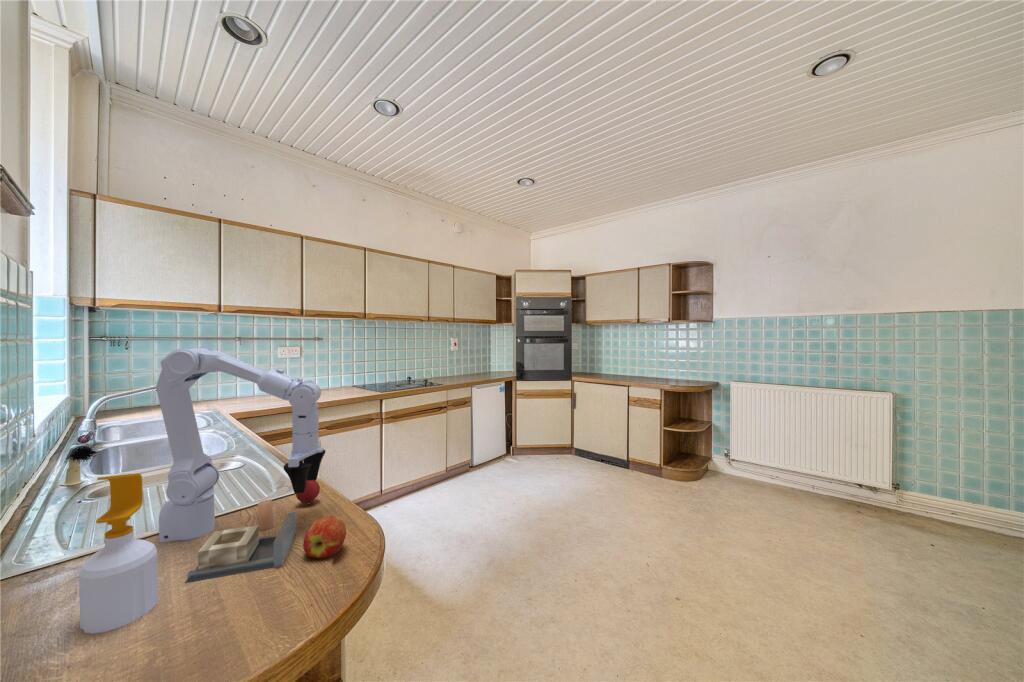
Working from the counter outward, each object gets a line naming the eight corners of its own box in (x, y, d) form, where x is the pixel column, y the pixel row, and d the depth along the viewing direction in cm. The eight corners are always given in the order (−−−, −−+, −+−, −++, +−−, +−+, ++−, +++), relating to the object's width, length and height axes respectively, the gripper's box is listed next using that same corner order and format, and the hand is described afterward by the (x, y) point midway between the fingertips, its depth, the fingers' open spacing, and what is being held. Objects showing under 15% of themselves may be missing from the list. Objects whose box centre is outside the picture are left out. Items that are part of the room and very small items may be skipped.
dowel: (256, 535, 90) (256, 506, 89) (260, 529, 92) (259, 500, 92) (271, 533, 91) (270, 504, 90) (274, 527, 93) (274, 499, 93)
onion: (309, 509, 103) (309, 480, 102) (291, 507, 104) (290, 478, 104) (324, 500, 108) (324, 472, 108) (306, 498, 109) (306, 471, 109)
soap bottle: (66, 647, 58) (61, 487, 57) (101, 607, 66) (97, 467, 66) (142, 629, 62) (139, 478, 61) (167, 593, 70) (164, 460, 69)
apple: (297, 567, 78) (297, 528, 77) (315, 544, 86) (314, 509, 86) (338, 565, 78) (337, 527, 78) (351, 543, 87) (351, 508, 86)
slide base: (184, 588, 71) (184, 556, 71) (213, 550, 84) (213, 523, 83) (282, 571, 76) (282, 541, 76) (296, 537, 89) (295, 512, 89)
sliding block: (198, 572, 74) (198, 551, 74) (215, 549, 82) (215, 531, 81) (246, 564, 77) (246, 544, 76) (258, 543, 84) (258, 525, 84)
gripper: (311, 439, 88) (311, 497, 88) (332, 424, 102) (332, 474, 102) (278, 440, 87) (278, 499, 87) (304, 424, 101) (304, 475, 101)
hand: (305, 486), depth 95 cm, fingers open, 7 cm apart
